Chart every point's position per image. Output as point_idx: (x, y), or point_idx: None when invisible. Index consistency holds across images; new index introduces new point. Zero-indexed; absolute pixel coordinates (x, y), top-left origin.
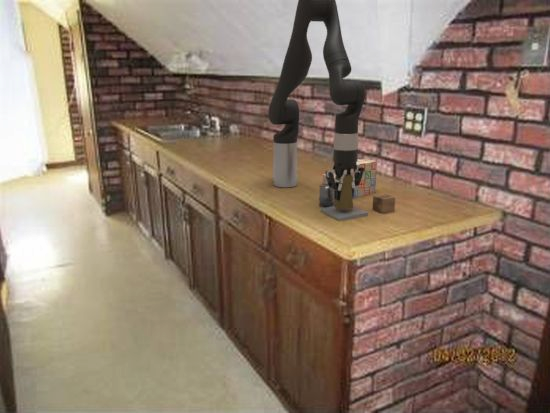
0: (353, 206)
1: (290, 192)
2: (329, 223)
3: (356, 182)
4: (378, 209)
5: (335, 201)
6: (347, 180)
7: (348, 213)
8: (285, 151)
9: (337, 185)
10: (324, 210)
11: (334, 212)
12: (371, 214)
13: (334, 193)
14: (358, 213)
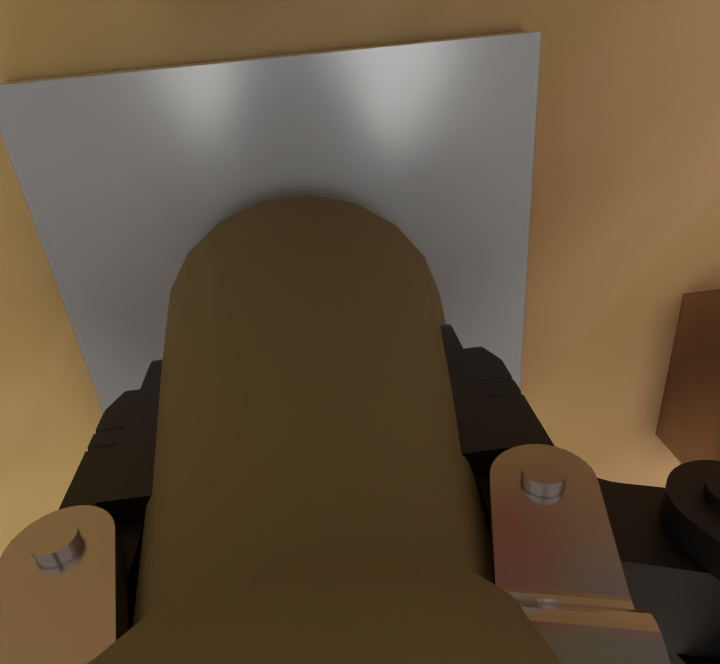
0: (521, 205)
1: None
2: (16, 500)
3: (675, 656)
4: (685, 399)
5: (165, 335)
6: None
7: None
8: None
9: (109, 606)
10: (32, 207)
11: (149, 334)
12: (558, 413)
13: (79, 467)
14: None
